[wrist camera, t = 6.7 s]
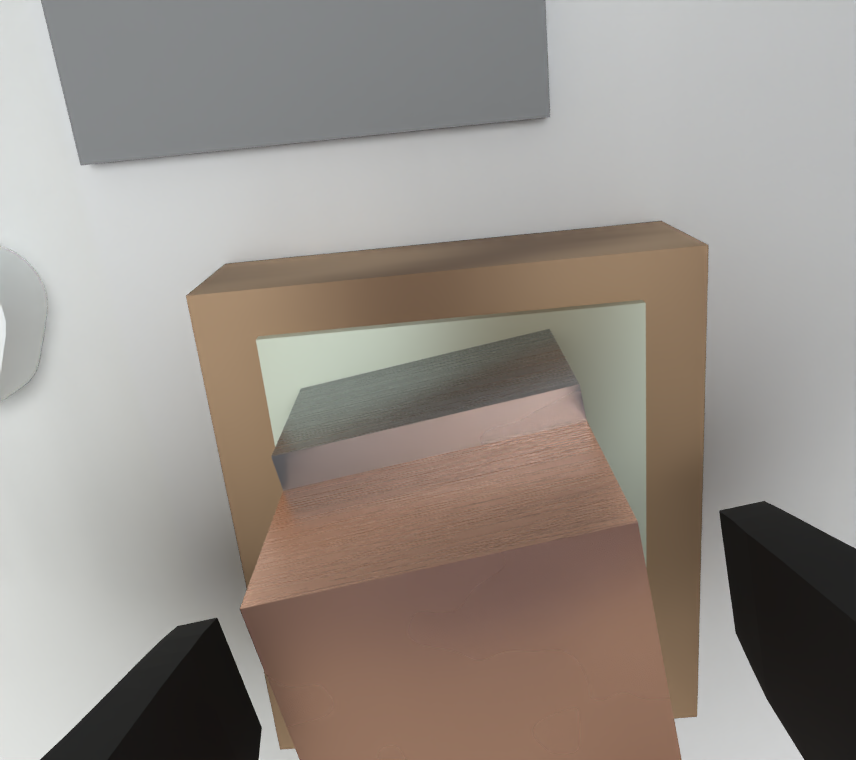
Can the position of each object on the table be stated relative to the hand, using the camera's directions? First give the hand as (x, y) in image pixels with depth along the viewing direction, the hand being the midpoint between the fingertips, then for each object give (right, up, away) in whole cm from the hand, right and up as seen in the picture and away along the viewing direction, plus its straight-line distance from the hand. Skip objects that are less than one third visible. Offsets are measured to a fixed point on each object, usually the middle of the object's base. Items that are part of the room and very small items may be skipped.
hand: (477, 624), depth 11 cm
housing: (0, +1, +2) cm, 2 cm away
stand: (0, +2, +5) cm, 5 cm away
